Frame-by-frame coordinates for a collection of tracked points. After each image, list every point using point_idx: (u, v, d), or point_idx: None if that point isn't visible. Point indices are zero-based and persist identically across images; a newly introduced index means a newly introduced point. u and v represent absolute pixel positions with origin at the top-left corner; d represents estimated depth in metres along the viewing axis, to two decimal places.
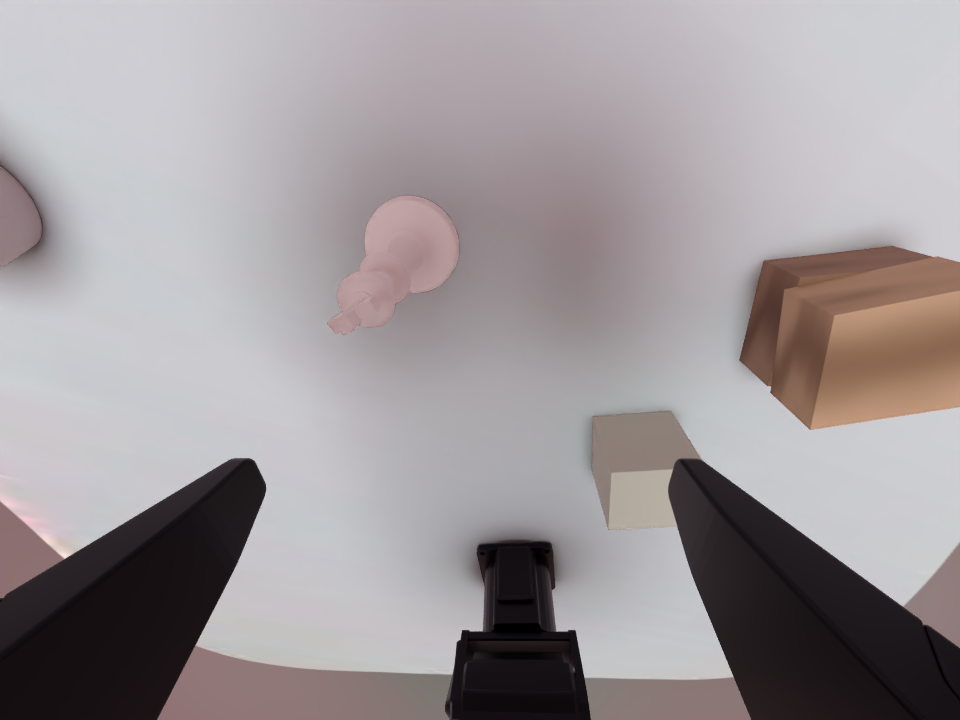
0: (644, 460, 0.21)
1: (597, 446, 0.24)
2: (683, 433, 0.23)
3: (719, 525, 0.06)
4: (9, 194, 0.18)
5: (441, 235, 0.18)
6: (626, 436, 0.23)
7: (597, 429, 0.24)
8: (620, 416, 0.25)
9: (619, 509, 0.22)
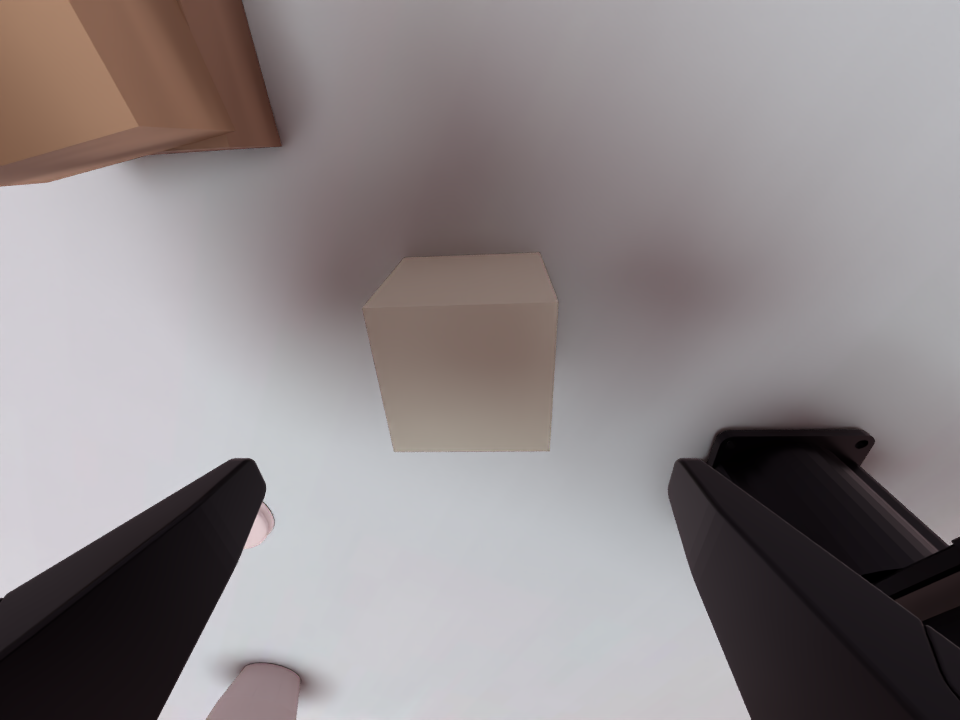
0: None
1: None
2: (389, 277, 0.12)
3: (719, 525, 0.06)
4: (252, 676, 0.31)
5: None
6: None
7: None
8: None
9: (488, 437, 0.12)
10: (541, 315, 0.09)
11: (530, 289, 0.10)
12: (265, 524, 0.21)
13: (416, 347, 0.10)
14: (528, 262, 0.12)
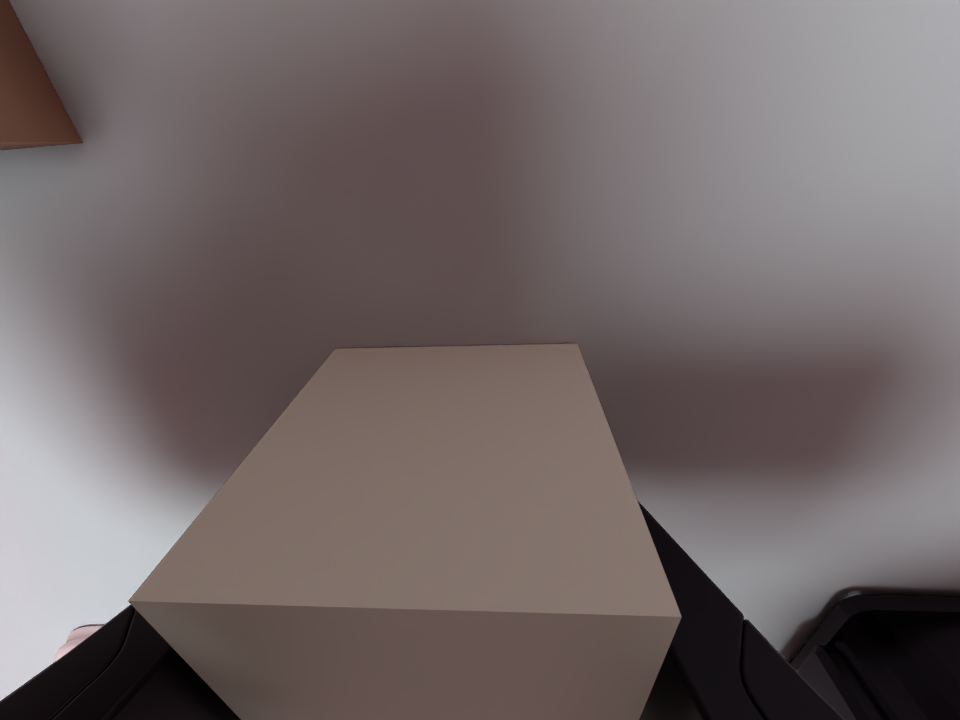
0: None
1: None
2: (280, 420, 0.06)
3: None
4: None
5: None
6: None
7: None
8: None
9: None
10: (624, 635, 0.03)
11: (583, 511, 0.04)
12: None
13: (295, 664, 0.04)
14: (562, 382, 0.06)
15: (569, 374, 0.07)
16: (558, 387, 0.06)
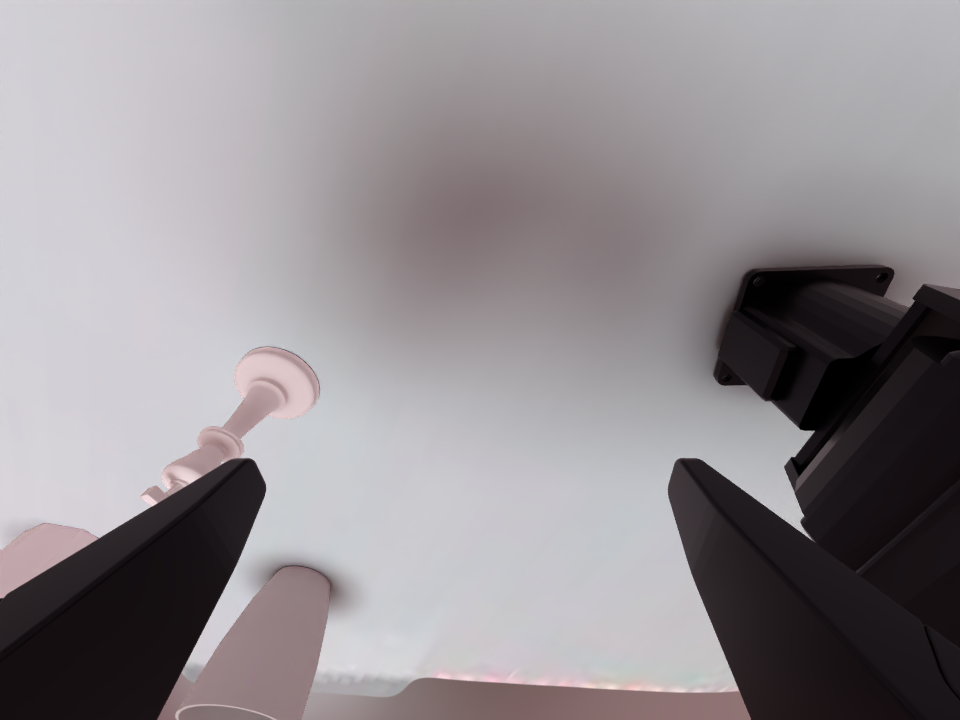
0: None
1: None
2: None
3: (719, 525, 0.06)
4: (286, 575, 0.32)
5: (252, 365, 0.21)
6: None
7: None
8: None
9: None
10: None
11: None
12: (312, 388, 0.22)
13: None
14: None
15: None
16: None
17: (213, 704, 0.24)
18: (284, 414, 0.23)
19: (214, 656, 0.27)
